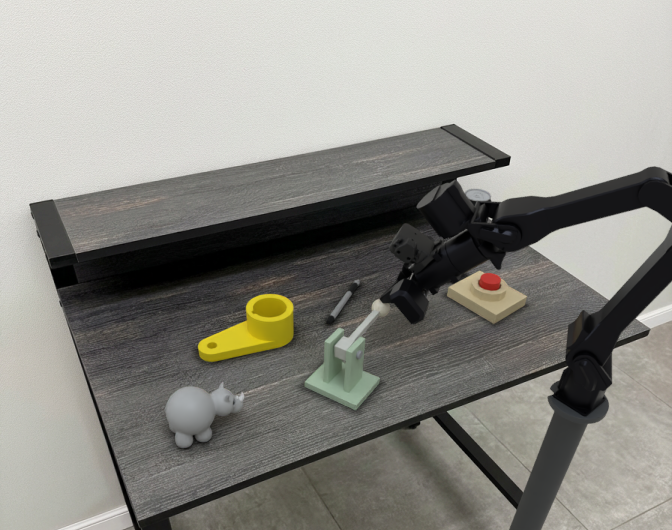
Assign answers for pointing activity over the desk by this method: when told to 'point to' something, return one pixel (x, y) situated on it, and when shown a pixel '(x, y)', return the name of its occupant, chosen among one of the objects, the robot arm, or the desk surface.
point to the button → (490, 281)
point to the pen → (342, 302)
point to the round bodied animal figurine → (198, 412)
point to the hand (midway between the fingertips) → (381, 299)
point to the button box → (486, 298)
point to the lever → (361, 328)
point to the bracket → (343, 374)
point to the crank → (253, 330)
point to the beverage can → (478, 196)
